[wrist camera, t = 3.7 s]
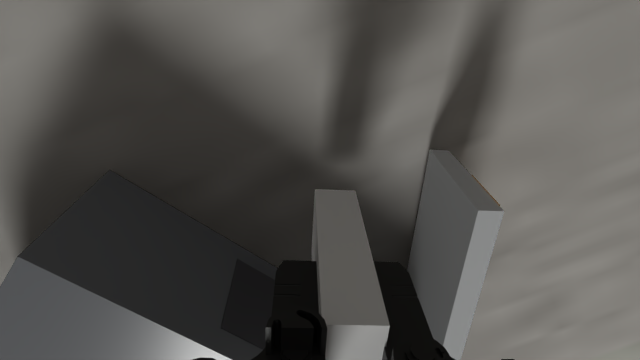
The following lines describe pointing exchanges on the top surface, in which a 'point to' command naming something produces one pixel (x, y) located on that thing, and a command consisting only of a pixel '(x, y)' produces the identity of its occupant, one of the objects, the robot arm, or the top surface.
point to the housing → (133, 286)
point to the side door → (452, 248)
